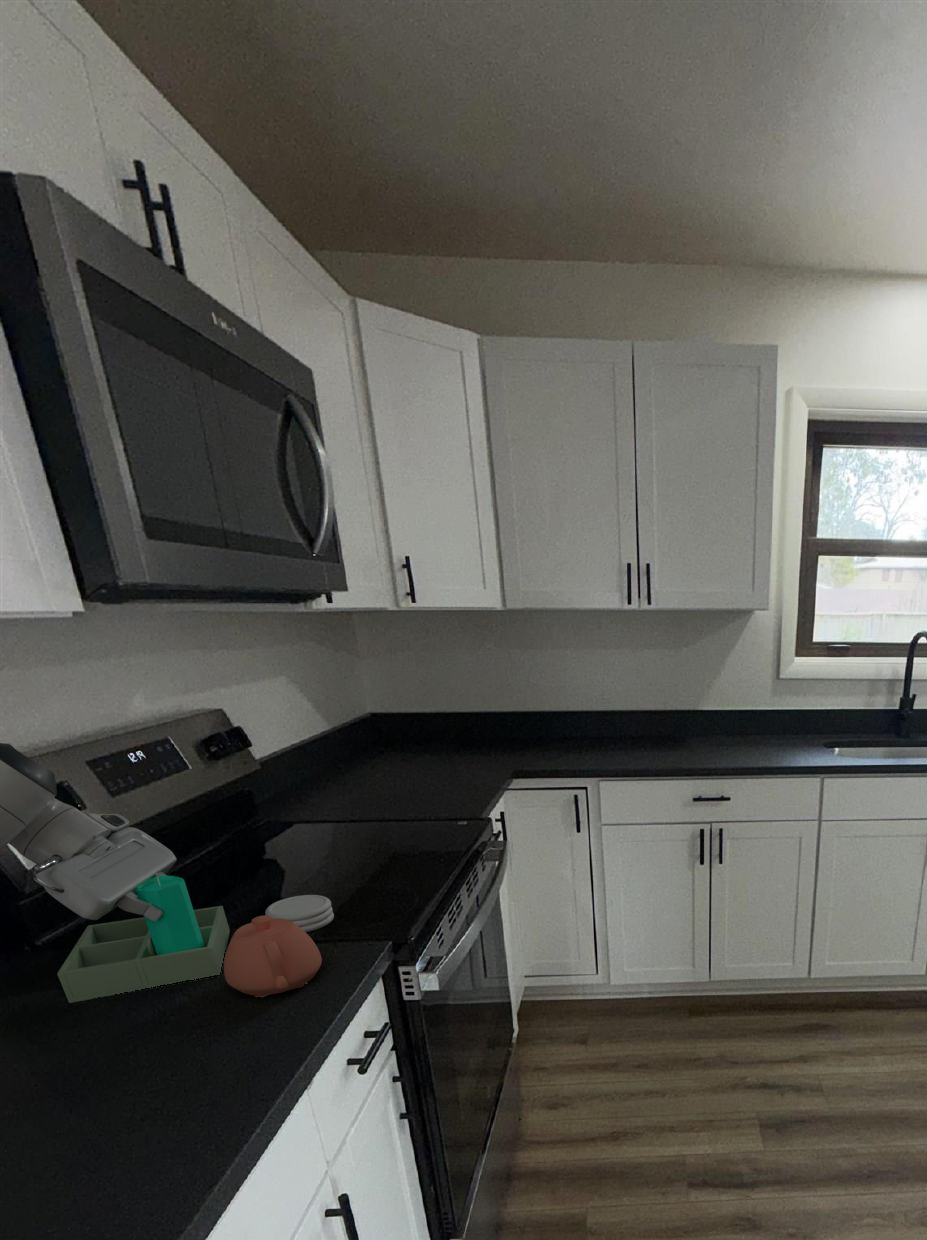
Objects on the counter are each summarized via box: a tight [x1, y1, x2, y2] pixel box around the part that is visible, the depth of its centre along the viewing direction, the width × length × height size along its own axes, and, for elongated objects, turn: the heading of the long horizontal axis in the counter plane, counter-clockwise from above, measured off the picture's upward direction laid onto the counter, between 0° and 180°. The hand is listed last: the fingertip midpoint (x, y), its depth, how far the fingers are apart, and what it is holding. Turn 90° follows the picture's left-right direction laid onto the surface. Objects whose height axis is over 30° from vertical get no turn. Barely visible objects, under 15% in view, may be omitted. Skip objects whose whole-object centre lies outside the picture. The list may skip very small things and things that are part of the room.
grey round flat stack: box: [265, 894, 335, 933], centre depth 127 cm, size 10×10×4 cm
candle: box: [135, 872, 204, 955], centre depth 108 cm, size 6×6×12 cm
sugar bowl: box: [223, 914, 323, 998], centre depth 105 cm, size 12×14×10 cm
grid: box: [56, 905, 231, 1004], centre depth 113 cm, size 18×18×5 cm
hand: (171, 908), depth 108 cm, fingers closed on candle, 5 cm apart
